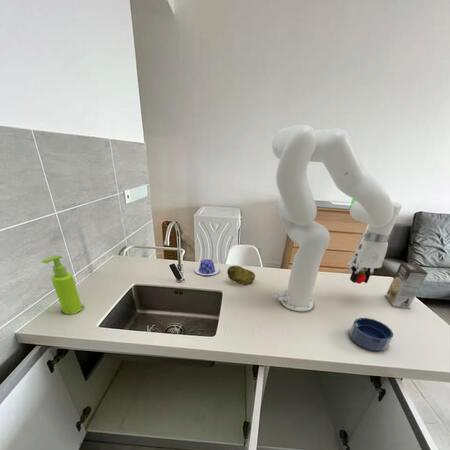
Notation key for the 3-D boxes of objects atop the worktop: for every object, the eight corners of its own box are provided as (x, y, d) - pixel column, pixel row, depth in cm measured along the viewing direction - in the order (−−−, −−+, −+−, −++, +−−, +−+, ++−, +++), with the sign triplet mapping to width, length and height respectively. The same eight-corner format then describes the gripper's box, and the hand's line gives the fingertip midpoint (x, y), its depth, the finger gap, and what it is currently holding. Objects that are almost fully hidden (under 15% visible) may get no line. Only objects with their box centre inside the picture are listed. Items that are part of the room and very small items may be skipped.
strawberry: (355, 284, 97) (360, 273, 94) (349, 279, 100) (354, 269, 98) (366, 284, 97) (370, 274, 95) (359, 279, 101) (364, 269, 98)
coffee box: (384, 295, 107) (400, 261, 98) (400, 297, 106) (417, 263, 97) (392, 306, 99) (410, 270, 91) (409, 309, 98) (429, 273, 90)
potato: (255, 287, 107) (257, 271, 103) (226, 286, 107) (227, 269, 103) (254, 279, 114) (256, 263, 110) (226, 277, 114) (227, 261, 110)
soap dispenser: (56, 313, 84) (35, 258, 73) (73, 303, 89) (56, 251, 79) (69, 317, 82) (49, 262, 72) (85, 307, 88) (70, 255, 77)
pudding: (189, 272, 117) (189, 262, 114) (202, 264, 126) (202, 254, 123) (211, 278, 112) (211, 268, 110) (223, 269, 121) (223, 259, 119)
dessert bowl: (361, 352, 75) (367, 340, 72) (342, 329, 84) (347, 318, 81) (394, 351, 76) (401, 339, 73) (372, 329, 85) (378, 317, 83)
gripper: (360, 239, 85) (343, 285, 94) (404, 241, 87) (383, 286, 96) (349, 233, 91) (334, 276, 101) (390, 235, 93) (371, 277, 103)
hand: (358, 280), depth 98 cm, fingers closed on strawberry, 4 cm apart
